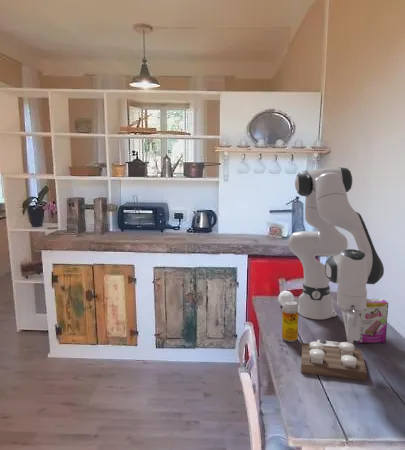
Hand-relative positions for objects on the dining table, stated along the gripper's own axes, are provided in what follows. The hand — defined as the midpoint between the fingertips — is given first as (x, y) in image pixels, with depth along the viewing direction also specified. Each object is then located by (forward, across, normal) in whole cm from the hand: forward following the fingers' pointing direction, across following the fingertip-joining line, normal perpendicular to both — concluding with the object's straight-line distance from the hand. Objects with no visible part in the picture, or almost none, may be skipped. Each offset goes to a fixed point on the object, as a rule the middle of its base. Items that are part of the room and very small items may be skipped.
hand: (349, 341), depth 121 cm
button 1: (+10, +7, +10) cm, 16 cm away
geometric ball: (+12, +58, +24) cm, 64 cm away
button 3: (+9, -1, +10) cm, 13 cm away
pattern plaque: (+11, +17, +5) cm, 21 cm away
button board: (+11, +3, +5) cm, 12 cm away
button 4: (+10, -1, 0) cm, 10 cm away
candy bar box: (+11, +26, -10) cm, 30 cm away
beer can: (+11, +20, +20) cm, 31 cm away
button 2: (+9, +7, 0) cm, 12 cm away
